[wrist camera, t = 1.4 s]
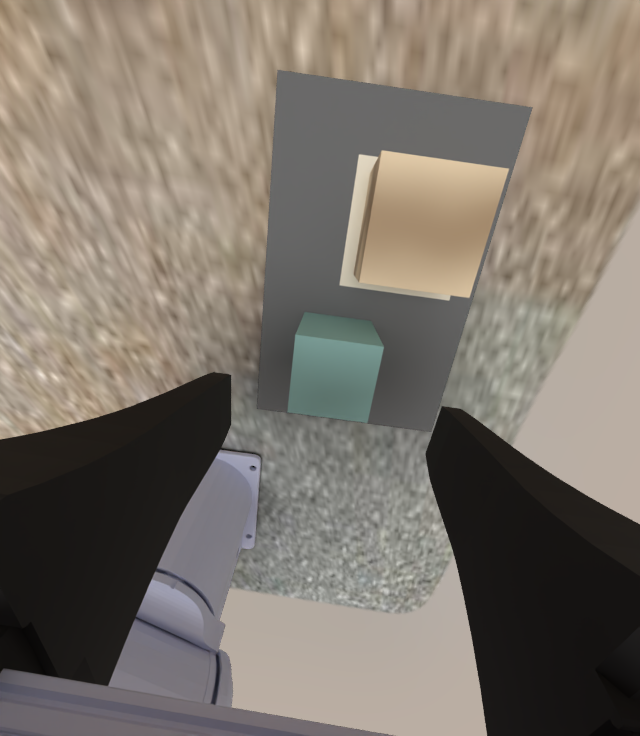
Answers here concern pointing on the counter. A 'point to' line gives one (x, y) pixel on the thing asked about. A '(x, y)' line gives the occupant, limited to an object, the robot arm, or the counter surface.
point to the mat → (343, 226)
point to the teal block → (334, 367)
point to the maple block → (426, 223)
